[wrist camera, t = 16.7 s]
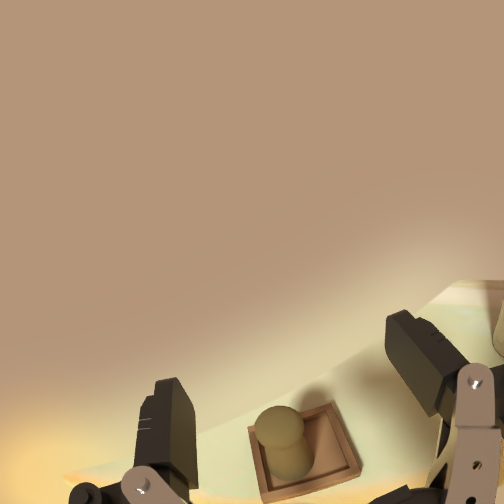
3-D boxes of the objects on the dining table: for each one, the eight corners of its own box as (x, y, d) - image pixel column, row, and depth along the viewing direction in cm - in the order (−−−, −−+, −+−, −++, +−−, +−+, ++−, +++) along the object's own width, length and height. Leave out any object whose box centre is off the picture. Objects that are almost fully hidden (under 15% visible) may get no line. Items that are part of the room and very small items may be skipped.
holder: (331, 409, 39) (330, 403, 38) (360, 476, 28) (360, 471, 27) (250, 432, 38) (247, 426, 37) (264, 504, 27) (261, 500, 26)
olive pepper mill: (260, 453, 34) (239, 410, 29) (302, 435, 35) (291, 389, 31) (278, 488, 28) (259, 453, 24) (322, 467, 30) (317, 427, 25)
